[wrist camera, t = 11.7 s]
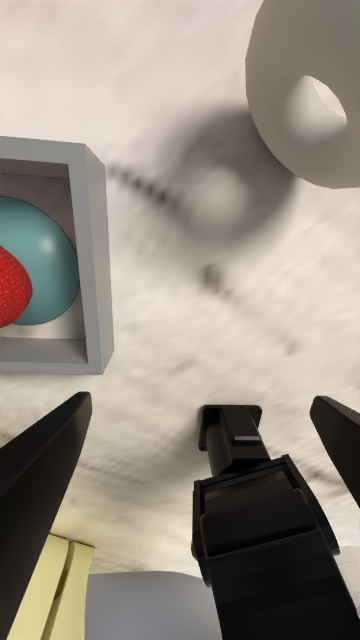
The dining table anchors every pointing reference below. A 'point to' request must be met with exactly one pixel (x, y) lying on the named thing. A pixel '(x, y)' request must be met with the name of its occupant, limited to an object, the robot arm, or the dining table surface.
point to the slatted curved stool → (55, 594)
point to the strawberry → (13, 288)
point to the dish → (350, 571)
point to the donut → (307, 87)
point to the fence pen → (59, 259)
